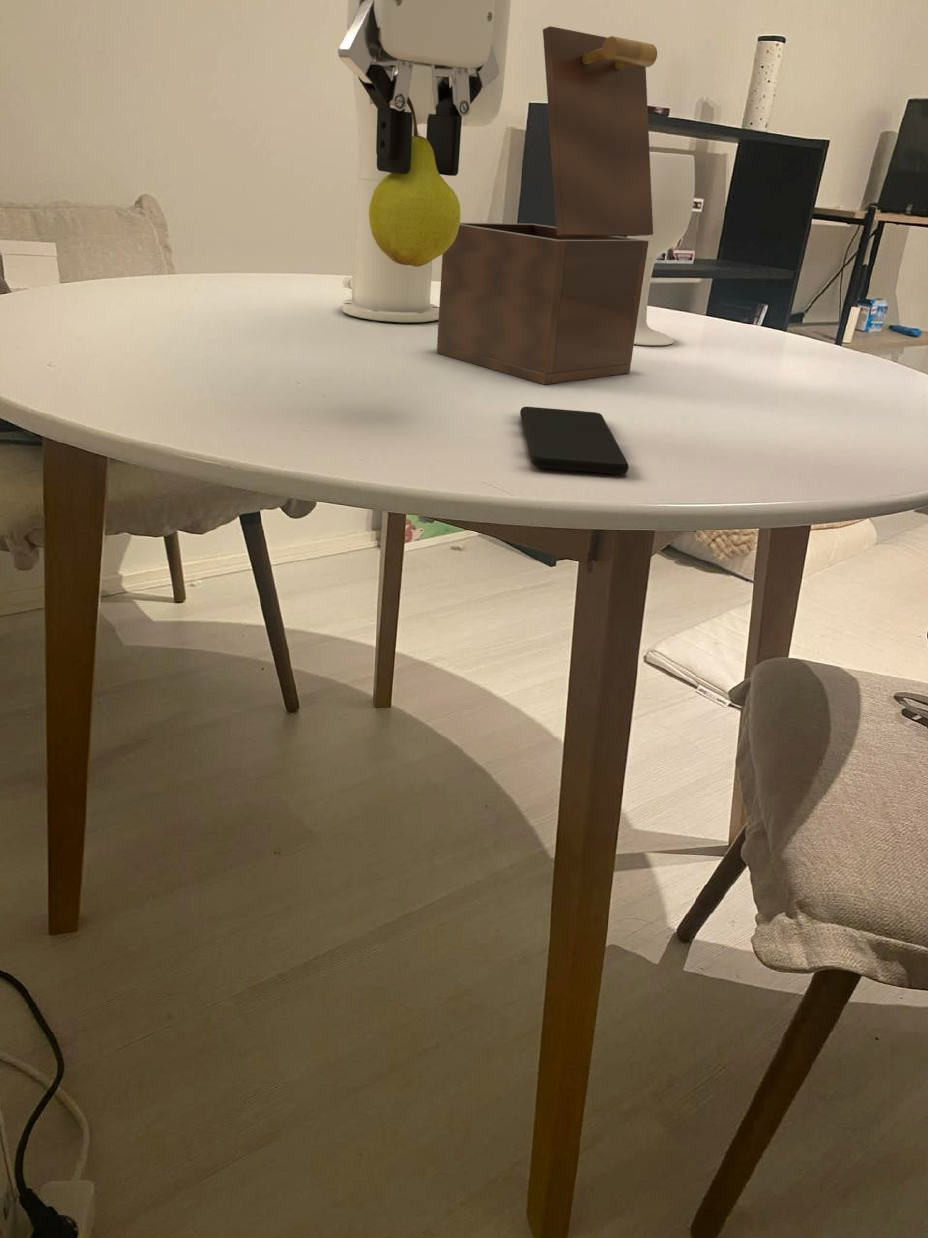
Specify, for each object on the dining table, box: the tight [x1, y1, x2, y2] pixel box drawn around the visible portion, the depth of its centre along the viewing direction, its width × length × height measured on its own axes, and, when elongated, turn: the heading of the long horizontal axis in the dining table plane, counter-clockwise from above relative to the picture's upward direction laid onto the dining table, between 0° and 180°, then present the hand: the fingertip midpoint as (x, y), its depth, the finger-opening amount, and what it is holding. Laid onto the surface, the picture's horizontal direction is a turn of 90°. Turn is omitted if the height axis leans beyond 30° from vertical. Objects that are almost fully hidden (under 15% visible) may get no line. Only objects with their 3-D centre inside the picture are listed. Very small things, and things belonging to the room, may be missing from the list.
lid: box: [542, 25, 658, 237], centre depth 89 cm, size 17×13×5 cm
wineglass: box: [626, 151, 696, 347], centre depth 117 cm, size 9×9×21 cm
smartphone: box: [519, 406, 630, 475], centre depth 75 cm, size 7×1×15 cm
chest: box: [436, 222, 649, 385], centre depth 101 cm, size 16×13×13 cm
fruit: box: [369, 97, 461, 267], centre depth 73 cm, size 7×7×12 cm
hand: (417, 170), depth 73 cm, fingers closed on fruit, 3 cm apart
